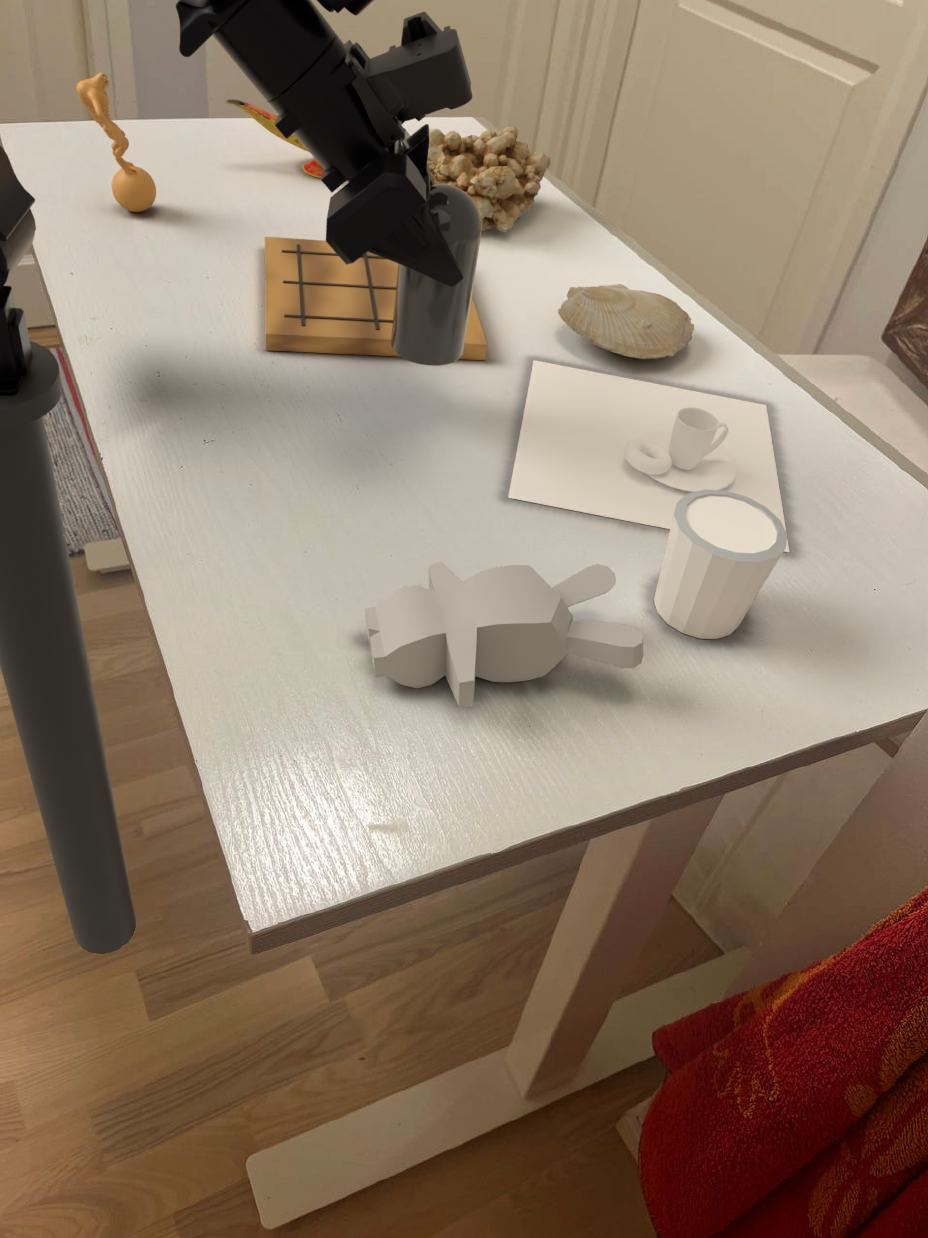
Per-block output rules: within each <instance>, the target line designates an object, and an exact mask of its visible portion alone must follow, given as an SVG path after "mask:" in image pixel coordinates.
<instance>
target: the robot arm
mask: <svg viewBox="0 0 928 1238" xmlns="http://www.w3.org/2000/svg"><path fill="white" fill-rule="evenodd" d="M316 1H317V2H318V4H319V5H320V6H322V8H323V9H325V10H326V11H327V12H328V13H333V12H334V11H335V12H336V14H340V12H341V11H343V10H344V9H345V10H347V11H348V12H349V13H350V14H352V15H353V16H356V17H357V16H359V15H360V14H361V13H362V12H363V11H364V10H365V9H366V8H368V7H369V6H370V5H371V4H373V2H374V1H375V0H316ZM175 9H176V13H177V15H178V16H177V17H178V21H179V47H178V51H179V54H180V55H181V56H183V57H184V58H190V57H192V56H193V55H194V54H195V53H196V52H197V51H198V50H199V49H200V48H201V47H202V46H203V45H204V44H205V43H206V42H207V41H208V40H209V39H210V38H211V37H212V36H213V38H214V39H215V40H216V41H217V42H218V44H219V46H221V48H222V49H223V50H224V51H225V52H226V54H227V55H228V56H229V57H230V58H231V60H232V61H233V62H234V63H235V64H236V66H237V67H238V68H239V70H241V72H242V73H243V74H244V75H245V76H246V78H247V79H248V80H249V81H250V83H252V85H253V86H254V87H255V88H256V89H257V91H258V92H259V93H260V94H261V96H263V98H264V99H265V100H266V101H267V103H268V105H270V107H271V108H272V109H273V110H274V111H275V113H276V114H277V116H278V117H277V121H276V124H275V126H276V127H277V128H278V130H279V131H280V132H281V133H282V134H283V136H284V137H285V138H286V139H287V138H288V137H290V136H291V135H292V134H293V133H294V134H295V135H296V136H297V138H298V139H299V140H300V141H301V142H302V144H303V145H304V146H305V147H306V148H307V150H308V151H309V152H308V153H310V155H312V157H313V159H316V160H317V162H318V163H319V164H320V165H321V166H322V168H323V173H322V178H320V179H321V180H320V181H321V182H322V183H323V184H324V185H325V187H326V188H327V189H328V190H329V192H331V193H334V192H335V191H336V190H337V189H339V188H340V187H341V186H342V185H343V184H344V183H346V182H347V183H346V184H344V185H343V186H342V187H341V188H340V189H339V190H338V191H337V192H335V193H334V194H333V195H332V196H330V199H329V203H328V210H327V214H326V215H327V216H326V222H325V223H326V224H325V229H326V230H325V241H326V242H327V243H328V244H329V246H330V247H331V248H332V249H333V250H334V251H335V252H336V253H337V255H338V256H339V257H340V258H341V259H342V260H343V261H344V263H345V264H346V265H347V264H351V263H354V262H355V261H356V260H357V259H359V258H360V257H361V256H362V255H364V254H365V253H366V252H370V253H372V254H375V255H378V256H380V257H383V258H386V259H388V260H391V261H393V262H396V263H398V264H401V265H403V266H405V267H408V268H410V269H412V270H414V271H417V272H419V273H421V274H423V275H425V276H428V277H430V278H432V279H434V280H436V281H439V282H441V283H443V284H445V285H447V286H450V287H454V286H455V285H457V284H458V283H459V282H461V281H462V280H463V273H462V271H461V270H460V268H459V266H458V264H457V262H456V260H455V258H454V256H453V254H452V253H451V251H450V249H449V247H448V246H447V244H446V242H445V240H444V238H443V237H442V235H441V233H440V231H439V229H438V228H437V226H436V224H435V222H434V220H433V219H432V217H431V215H430V213H429V212H428V204H429V198H430V186H431V185H435V181H434V179H433V177H432V175H431V172H430V170H429V168H428V165H427V159H428V150H429V130H430V125H429V124H428V123H426V124H424V125H422V126H421V127H419V128H418V130H416V131H414V132H413V133H412V134H411V135H410V133H409V132H408V130H407V129H406V127H405V128H404V126H403V124H404V123H405V122H409V121H411V120H414V119H415V120H416V121H417V122H421V121H422V120H423V119H424V118H425V117H426V115H430V114H433V113H435V112H439V111H441V110H444V109H449V110H451V111H452V110H456V109H458V108H460V107H463V106H465V105H467V104H468V103H470V102H471V101H472V99H473V91H472V81H471V78H470V74H469V70H468V66H467V63H466V60H465V56H464V53H463V48H462V45H461V42H460V38H459V34H458V30H457V29H455V28H451V25H447V26H444V27H443V30H442V29H441V27H439V26H438V25H437V23H436V22H435V21H434V20H433V19H432V18H431V16H430V15H429V14H428V13H427V12H426V11H421V12H419V13H416V14H413V15H410V16H408V17H405V18H404V19H403V23H402V31H401V40H400V45H399V46H396V45H395V44H393V45H391V46H388V47H389V48H388V51H385V52H383V53H380V54H379V55H376V56H374V57H370V56H369V55H368V54H367V52H366V51H365V50H364V49H363V48H362V46H361V44H360V43H358V42H357V41H356V42H355V43H353V42H352V41H351V39H348V40H347V41H346V42H345V43H344V42H343V41H342V39H341V38H340V37H339V35H338V34H337V33H336V31H335V30H334V29H333V26H331V25H330V24H329V22H328V21H327V19H326V18H325V17H324V15H323V14H322V13H321V12H320V10H319V9H318V7H317V5H315V4H314V2H313V1H312V0H178V1H177V2H176V4H175ZM35 202H36V199H35V197H34V196H33V195H32V194H31V193H30V192H29V191H28V190H26V189H25V187H24V186H23V185H22V183H21V181H20V180H19V178H18V177H17V175H16V173H15V170H14V167H13V166H12V163H11V161H10V158H9V156H8V154H7V152H6V151H5V149H4V148H3V146H1V145H0V395H5V396H13V395H16V394H18V392H19V389H20V386H21V383H22V380H23V377H24V376H26V375H27V374H28V371H29V368H30V365H31V361H32V358H33V356H32V351H31V345H30V341H31V340H30V335H29V329H28V323H27V319H26V313H25V311H24V309H23V308H21V307H16V303H15V298H14V292H13V287H12V286H10V285H6V283H7V282H8V280H9V279H10V277H11V276H12V275H13V273H14V272H15V270H16V269H17V267H18V266H19V265H20V263H21V262H22V260H23V258H24V257H25V255H26V254H27V253H28V251H29V250H30V249H31V247H32V245H33V242H34V239H35V235H36V230H37V226H36V219H35V217H34V214H33V212H32V209H31V208H32V206H33V205H34V204H35Z"/></svg>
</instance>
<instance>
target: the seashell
mask: <svg viewBox="0 0 928 1238" xmlns="http://www.w3.org/2000/svg"><path fill="white" fill-rule="evenodd" d="M566 297H567V299H566V300H564V301H563V302H562V303H561V305H560V307H559V308H558V310H557V314H558V315H559V318H560V319H561V320H562V321H563V322H564V323H565V324H566V326H567V327H569V328H570V329H571V330H572V331H573V332H574V333H576V334H577V335H580V337H581V338H583V339H584V340H586V341H588V342H589V343H591V344H593V345H595V346H597V347H598V348H600V349H604V350H605V351H609V352H611V353H614V354H617V355H621V356H625V357H629V358H635V359H640V360H646V359H647V360H650V359H654V360H657V359H660V358H666V357H674V356H675V354H677V353H678V352H679V351H681V350H683V349H684V348H685V347H687V346H689V342H691V341H692V340H693V333H694V332H693V331H695V324H693V323H692V318H691V317H690V315H689V313H688V312H687V311H685V310H684V309H683V308H681V306H680V305H679V304H678V303H677V302H676V301H674V300H672V299H670V298H669V297H666V296H664V295H663V294H659V293H656V292H650V291H645V290H638V289H631V288H628V287H627V286H625V285H624V284H622V283H621V284H620V283H617V284H609V285H599V286H595V285H594V286H572V287H569V288H568V291H567V293H566Z"/></svg>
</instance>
